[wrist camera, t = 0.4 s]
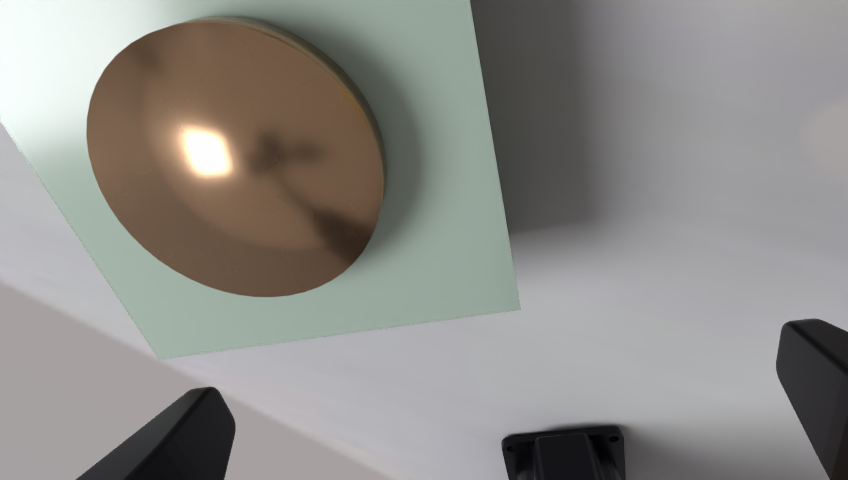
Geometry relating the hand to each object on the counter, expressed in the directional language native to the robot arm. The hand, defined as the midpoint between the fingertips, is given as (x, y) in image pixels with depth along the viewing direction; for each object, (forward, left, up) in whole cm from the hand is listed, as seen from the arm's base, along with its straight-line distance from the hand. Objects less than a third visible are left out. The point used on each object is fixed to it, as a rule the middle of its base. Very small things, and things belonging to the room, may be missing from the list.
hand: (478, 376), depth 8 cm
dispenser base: (+2, +6, -13) cm, 14 cm away
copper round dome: (+2, +6, -12) cm, 13 cm away
